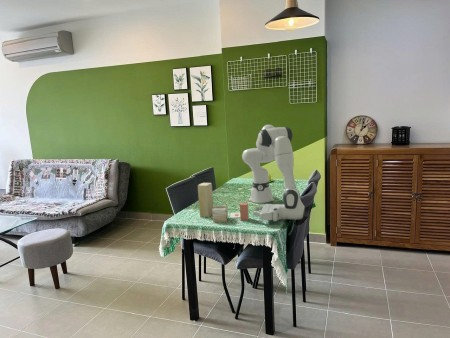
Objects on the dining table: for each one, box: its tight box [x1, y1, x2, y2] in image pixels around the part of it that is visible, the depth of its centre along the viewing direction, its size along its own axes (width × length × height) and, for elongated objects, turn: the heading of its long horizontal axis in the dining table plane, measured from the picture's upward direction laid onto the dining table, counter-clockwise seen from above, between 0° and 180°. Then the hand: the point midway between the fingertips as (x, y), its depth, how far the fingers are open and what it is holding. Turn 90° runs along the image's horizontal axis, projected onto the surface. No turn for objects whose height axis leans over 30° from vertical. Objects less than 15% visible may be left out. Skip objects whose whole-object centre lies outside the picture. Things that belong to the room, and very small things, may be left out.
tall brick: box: [239, 202, 249, 222], centre depth 209 cm, size 4×4×10 cm
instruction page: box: [229, 211, 240, 219], centre depth 219 cm, size 10×8×1 cm
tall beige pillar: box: [197, 182, 214, 218], centre depth 220 cm, size 8×7×21 cm
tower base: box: [212, 205, 229, 223], centre depth 211 cm, size 8×8×8 cm
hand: (254, 211), depth 207 cm, fingers open, 8 cm apart
